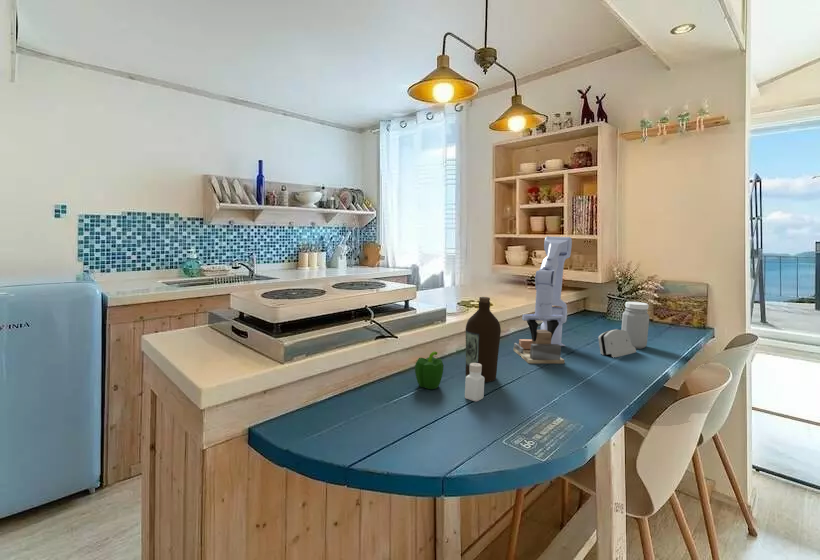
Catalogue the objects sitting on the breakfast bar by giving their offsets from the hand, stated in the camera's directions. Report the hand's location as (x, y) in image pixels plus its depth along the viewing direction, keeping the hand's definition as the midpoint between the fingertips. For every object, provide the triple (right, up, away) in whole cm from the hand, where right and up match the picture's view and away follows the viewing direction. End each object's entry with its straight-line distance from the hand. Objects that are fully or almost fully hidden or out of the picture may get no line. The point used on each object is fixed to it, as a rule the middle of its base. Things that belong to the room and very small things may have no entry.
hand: (541, 340), depth 152 cm
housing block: (0, -2, 0) cm, 2 cm away
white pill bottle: (-30, -10, -38) cm, 50 cm away
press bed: (0, -6, +3) cm, 7 cm away
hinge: (+33, -7, +12) cm, 35 cm away
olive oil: (-26, -9, -21) cm, 34 cm away
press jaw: (-1, -4, +8) cm, 9 cm away
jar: (+45, -6, +23) cm, 51 cm away
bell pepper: (-42, -9, -30) cm, 52 cm away
